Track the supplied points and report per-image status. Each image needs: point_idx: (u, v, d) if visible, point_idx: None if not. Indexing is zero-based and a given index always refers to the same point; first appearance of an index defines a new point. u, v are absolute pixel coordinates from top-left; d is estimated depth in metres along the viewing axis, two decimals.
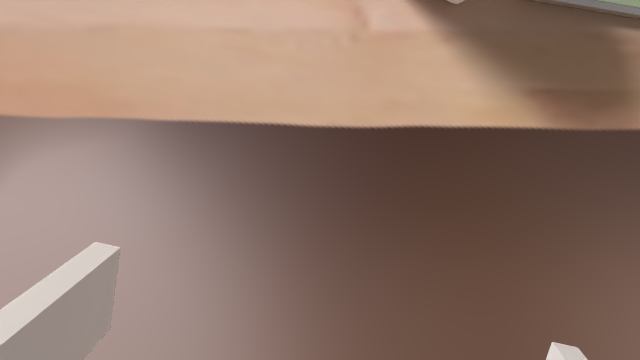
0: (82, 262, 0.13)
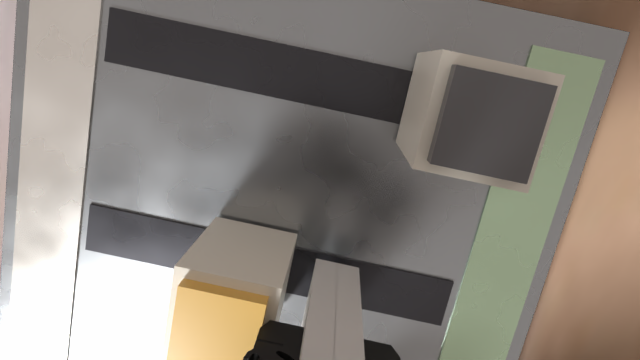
0: (324, 277, 0.15)
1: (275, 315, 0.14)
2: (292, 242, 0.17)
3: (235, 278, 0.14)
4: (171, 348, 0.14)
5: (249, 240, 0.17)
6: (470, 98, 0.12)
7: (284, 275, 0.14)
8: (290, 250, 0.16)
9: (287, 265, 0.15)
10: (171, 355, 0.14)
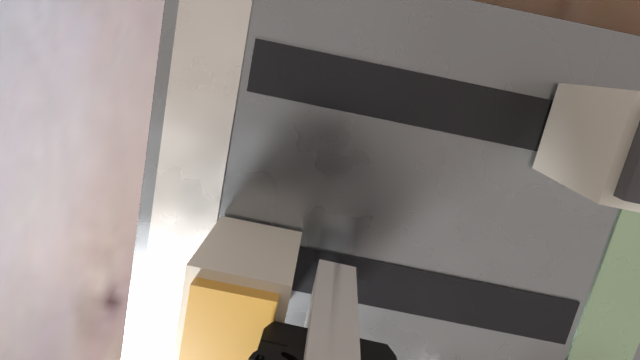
0: (327, 278, 0.15)
1: (285, 312, 0.14)
2: (297, 240, 0.17)
3: (246, 276, 0.14)
4: (183, 346, 0.14)
5: (256, 239, 0.17)
6: None
7: (293, 272, 0.15)
8: (296, 248, 0.17)
9: (295, 263, 0.15)
10: (183, 353, 0.14)
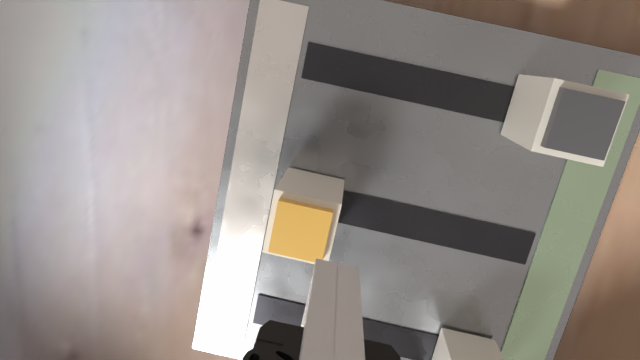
0: (323, 277, 0.15)
1: (337, 221, 0.22)
2: (342, 183, 0.25)
3: (312, 197, 0.22)
4: (271, 241, 0.22)
5: (314, 180, 0.25)
6: (571, 108, 0.19)
7: (341, 198, 0.22)
8: (341, 187, 0.24)
9: (342, 194, 0.23)
10: (271, 245, 0.22)
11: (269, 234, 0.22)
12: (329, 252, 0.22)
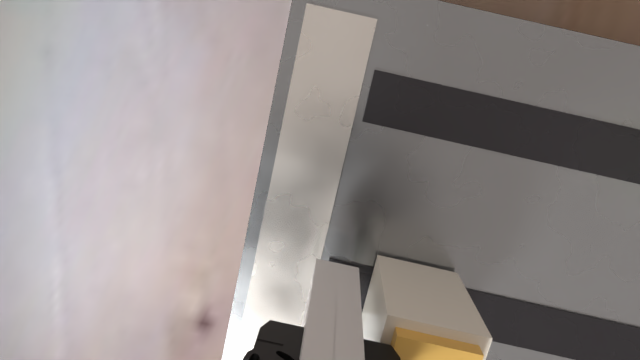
0: (323, 277, 0.15)
1: None
2: (460, 283, 0.17)
3: (447, 327, 0.14)
4: None
5: (425, 282, 0.17)
6: None
7: (483, 322, 0.15)
8: (465, 292, 0.17)
9: (476, 310, 0.15)
10: None
11: None
12: None
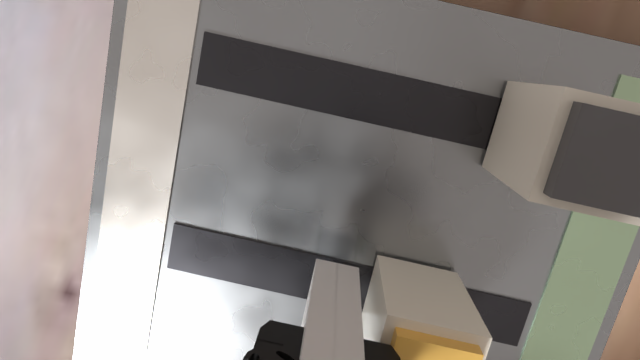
0: (324, 277, 0.15)
1: None
2: (460, 283, 0.17)
3: (446, 327, 0.14)
4: None
5: (424, 281, 0.17)
6: (594, 135, 0.12)
7: (482, 322, 0.15)
8: (465, 292, 0.17)
9: (476, 310, 0.15)
10: None
11: None
12: None
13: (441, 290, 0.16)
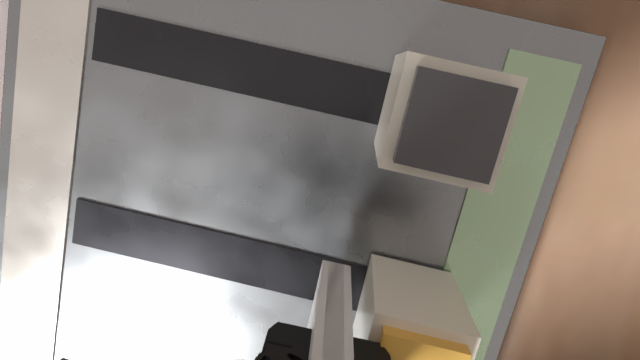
0: (330, 278, 0.15)
1: None
2: (454, 283, 0.17)
3: (435, 326, 0.14)
4: None
5: (417, 281, 0.17)
6: (432, 99, 0.12)
7: (473, 322, 0.15)
8: (458, 292, 0.17)
9: (467, 310, 0.15)
10: None
11: None
12: None
13: (433, 290, 0.16)
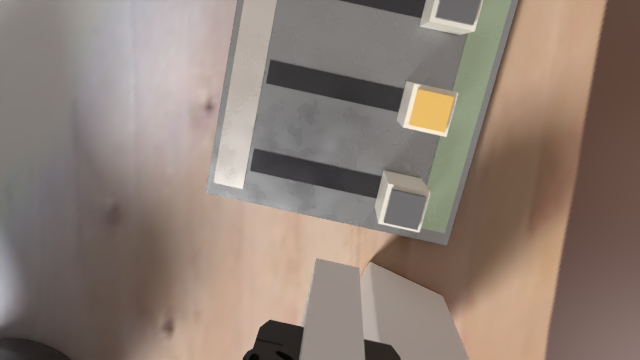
0: (324, 277, 0.15)
1: (454, 105, 0.33)
2: None
3: (439, 88, 0.33)
4: (412, 117, 0.33)
5: (429, 86, 0.36)
6: None
7: (455, 92, 0.34)
8: (448, 90, 0.36)
9: (452, 91, 0.35)
10: (412, 120, 0.33)
11: (408, 114, 0.34)
12: (448, 126, 0.34)
13: None
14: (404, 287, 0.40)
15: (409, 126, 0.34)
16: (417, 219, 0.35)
